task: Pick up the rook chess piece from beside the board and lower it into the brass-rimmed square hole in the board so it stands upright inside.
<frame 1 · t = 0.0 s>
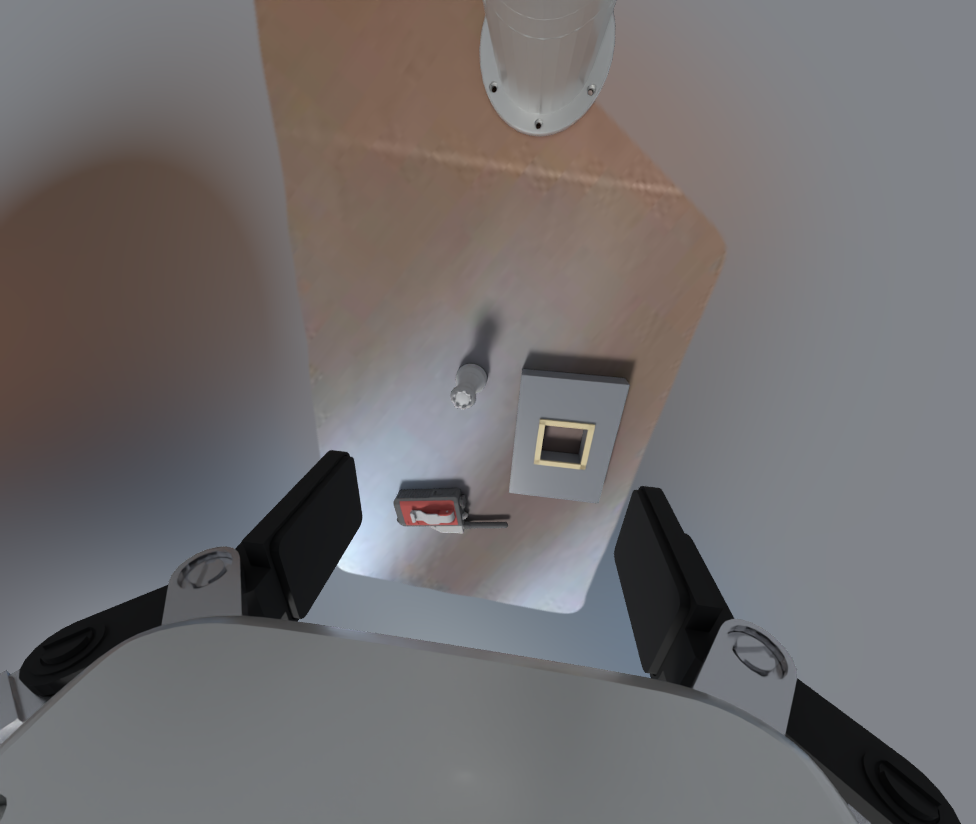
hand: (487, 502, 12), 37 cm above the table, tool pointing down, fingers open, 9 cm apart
rook chess piece: (472, 376, 49), on the table
red gray switch box: (451, 505, 61), on the table
socket board: (561, 435, 52), on the table
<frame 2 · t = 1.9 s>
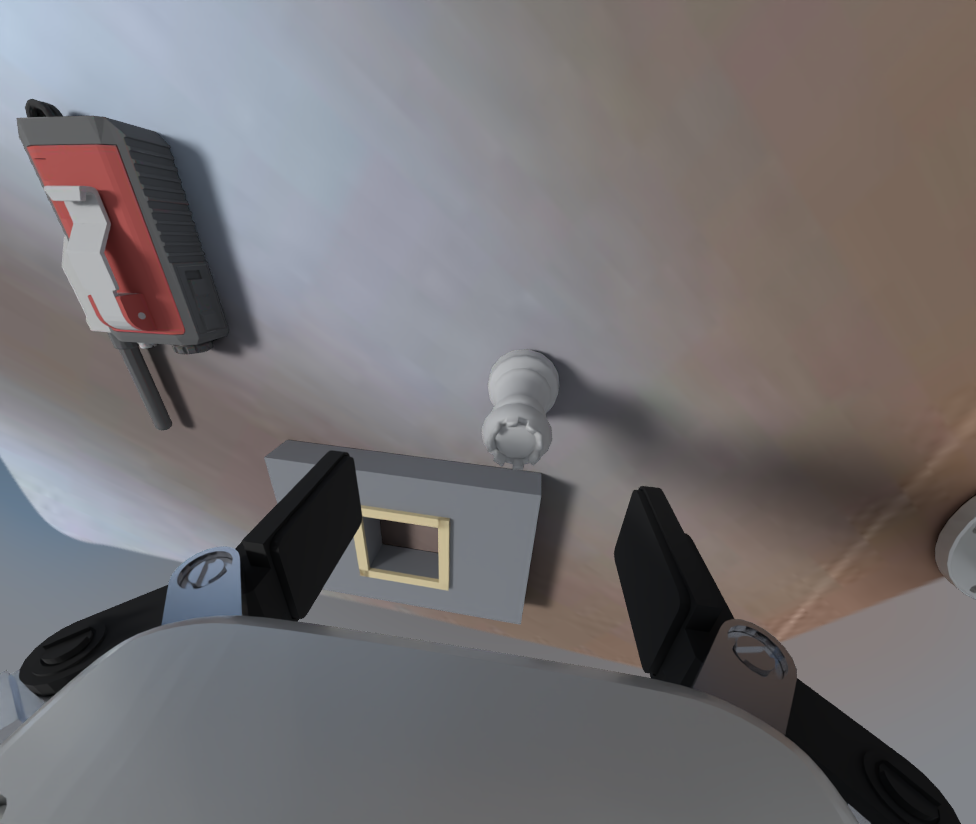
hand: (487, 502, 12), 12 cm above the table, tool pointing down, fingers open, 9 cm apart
rook chess piece: (524, 379, 22), on the table
red gray switch box: (171, 296, 24), on the table
socket board: (413, 524, 29), on the table
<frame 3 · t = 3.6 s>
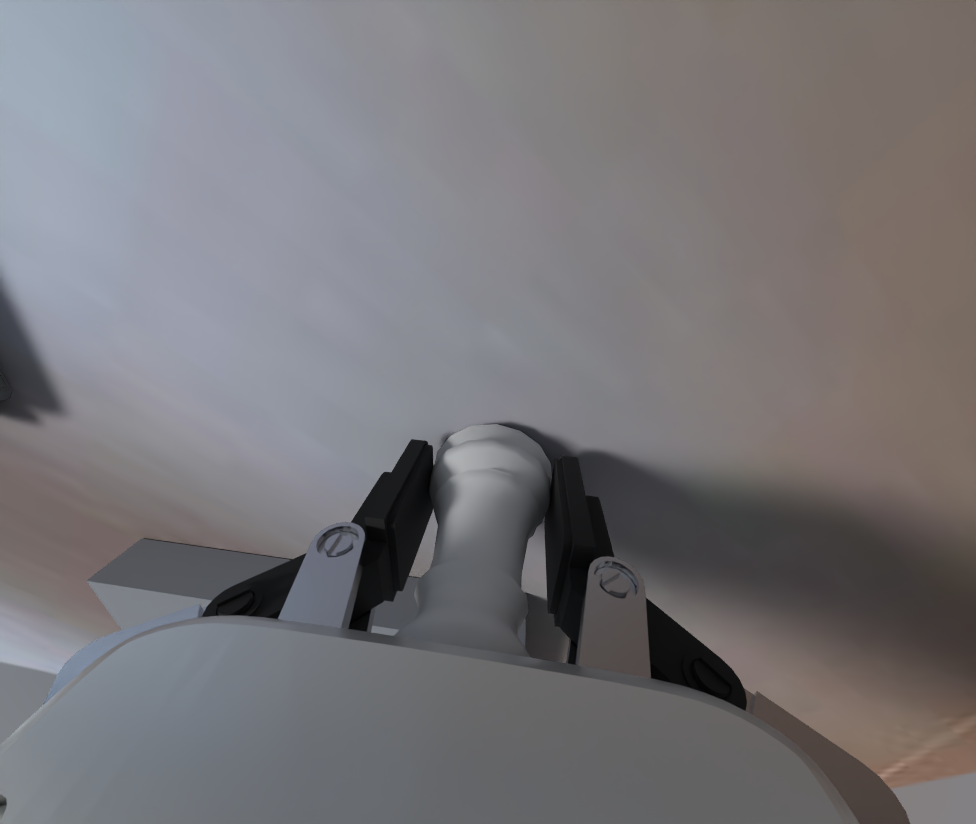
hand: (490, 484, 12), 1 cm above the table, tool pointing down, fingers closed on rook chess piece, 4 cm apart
rook chess piece: (493, 465, 13), on the table, touching gripper
socket board: (344, 646, 20), on the table
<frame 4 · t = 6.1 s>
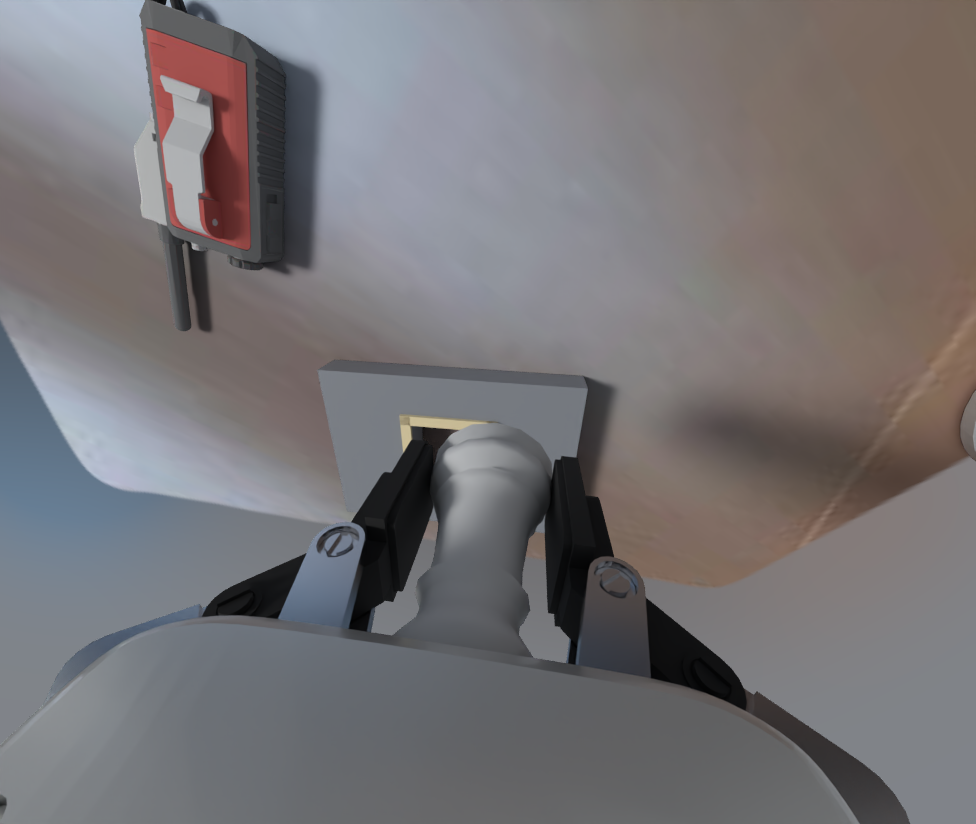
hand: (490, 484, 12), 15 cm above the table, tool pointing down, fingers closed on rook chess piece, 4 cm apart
rook chess piece: (494, 464, 13), point 14 cm above the table, touching gripper
red gray switch box: (231, 207, 24), on the table
socket board: (455, 442, 30), on the table
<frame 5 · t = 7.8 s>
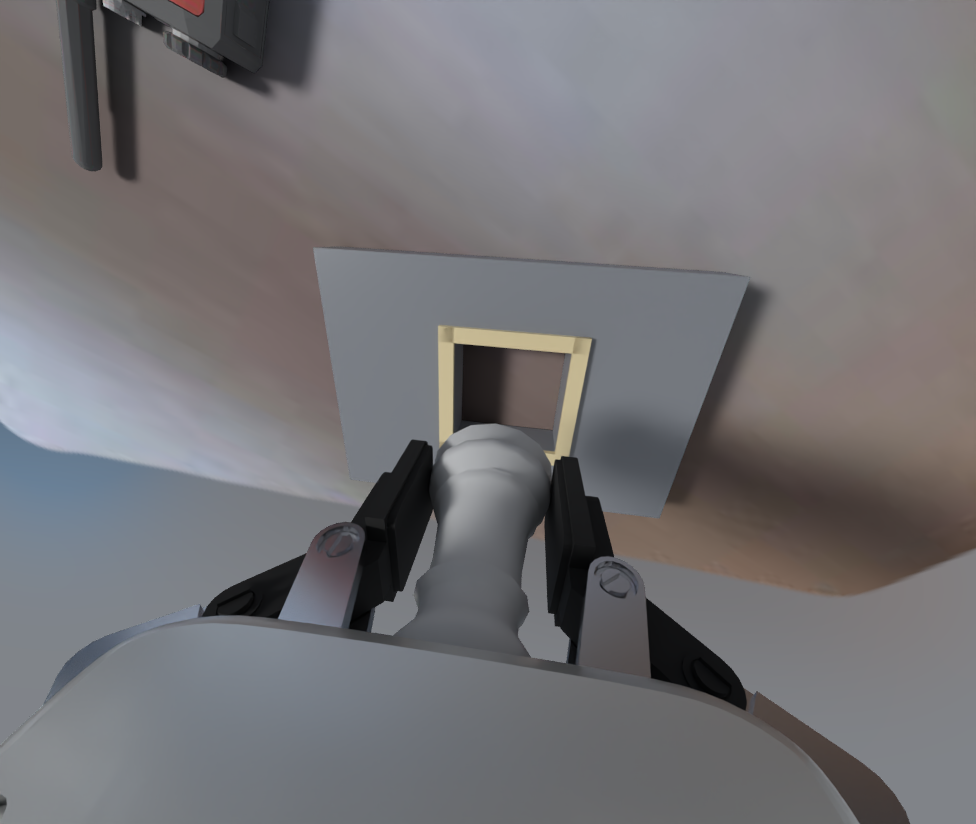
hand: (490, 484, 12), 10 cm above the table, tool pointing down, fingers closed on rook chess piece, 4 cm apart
rook chess piece: (493, 465, 13), point 9 cm above the table, touching gripper
socket board: (510, 382, 21), on the table
when the fingers open (4 cm above the table, at t = 9.1 s): rook chess piece drops 3 cm, resting in socket board.
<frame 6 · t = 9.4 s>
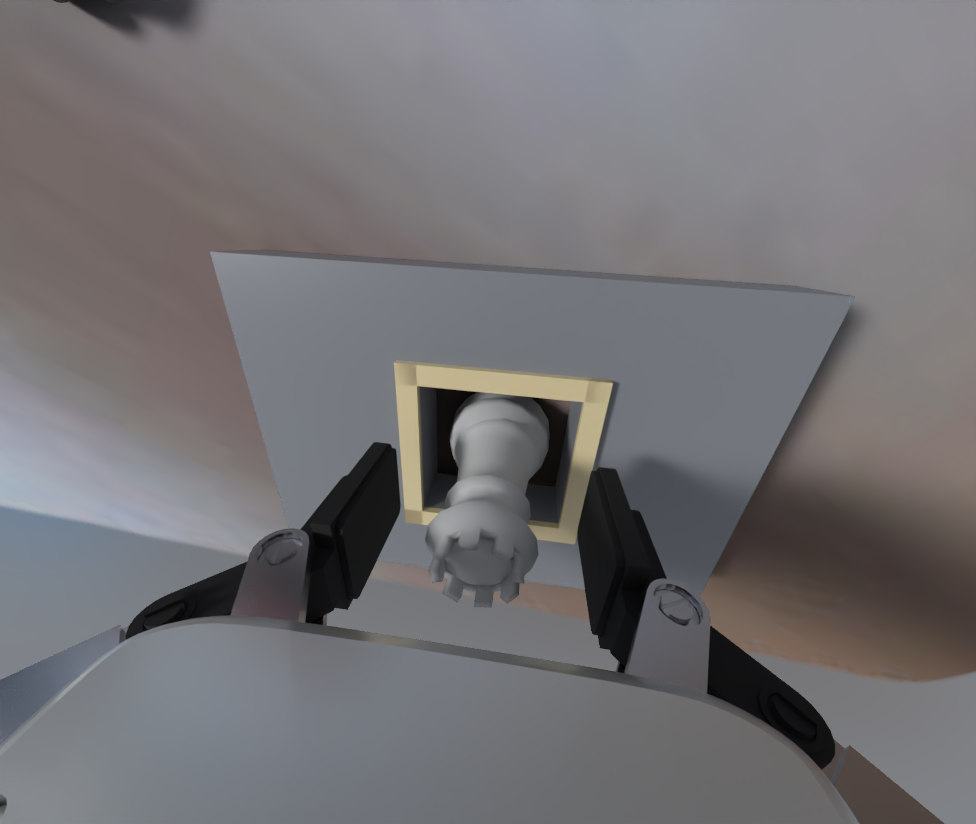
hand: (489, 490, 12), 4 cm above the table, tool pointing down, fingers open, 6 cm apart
rook chess piece: (501, 425, 16), resting in socket board
socket board: (499, 428, 16), on the table
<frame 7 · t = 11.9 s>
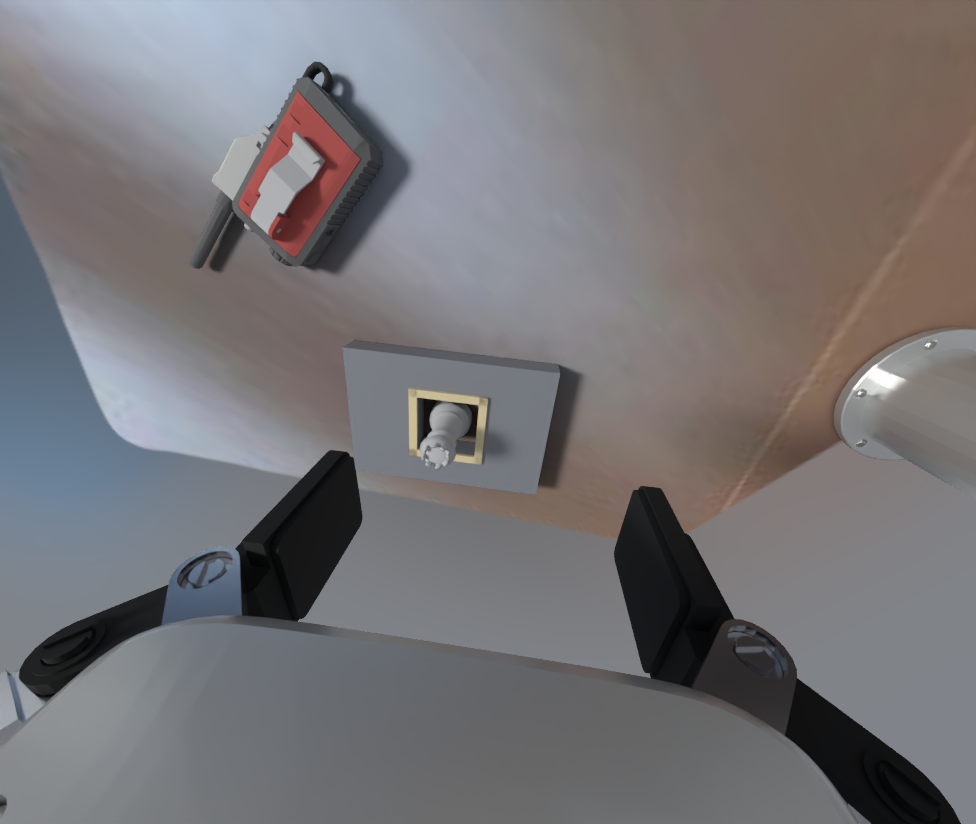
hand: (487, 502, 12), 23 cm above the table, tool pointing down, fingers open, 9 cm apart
rook chess piece: (452, 414, 37), resting in socket board
red gray switch box: (290, 207, 29), on the table
socket board: (451, 415, 36), on the table
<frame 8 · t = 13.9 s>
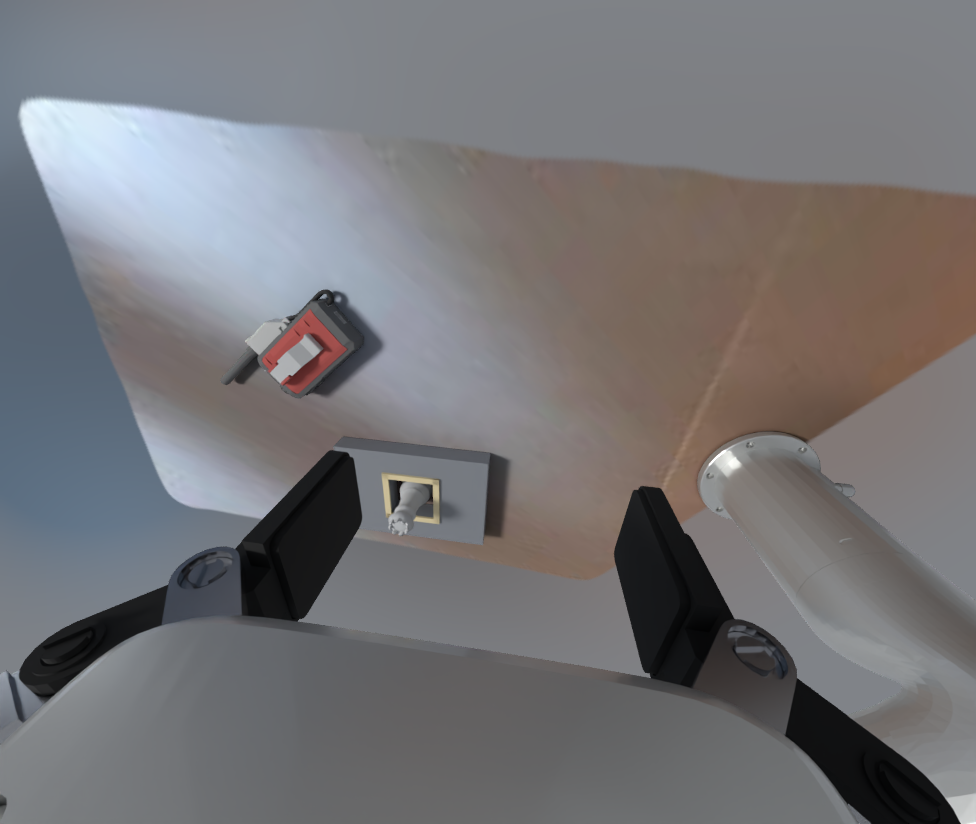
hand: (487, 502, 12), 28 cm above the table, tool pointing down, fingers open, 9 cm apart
rook chess piece: (418, 485, 49), resting in socket board
red gray switch box: (297, 354, 42), on the table
socket board: (417, 486, 48), on the table
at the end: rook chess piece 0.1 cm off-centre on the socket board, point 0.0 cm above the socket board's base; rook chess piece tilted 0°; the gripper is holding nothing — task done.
